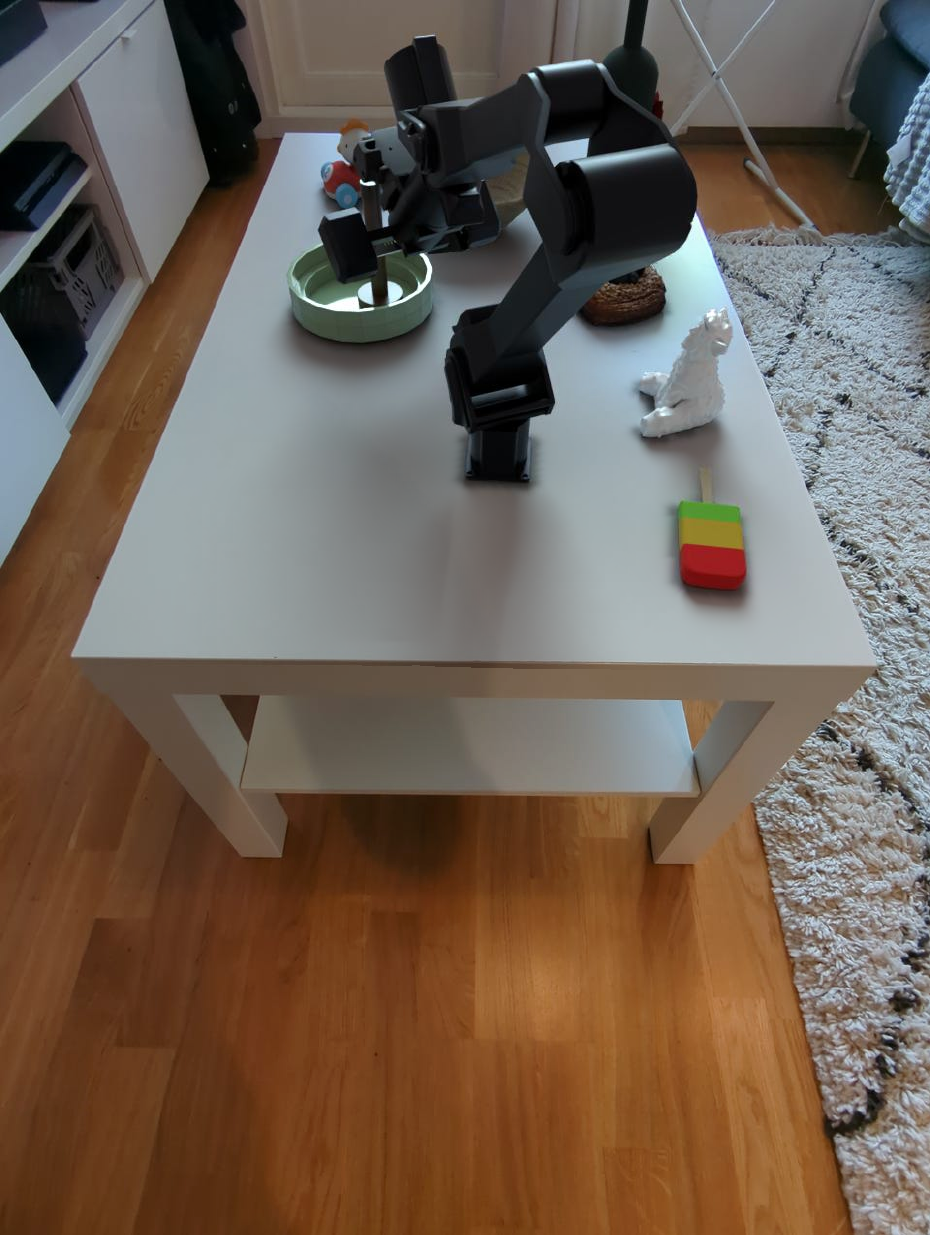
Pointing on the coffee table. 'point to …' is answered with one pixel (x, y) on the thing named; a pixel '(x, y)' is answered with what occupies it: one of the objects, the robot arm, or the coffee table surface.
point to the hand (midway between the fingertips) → (391, 260)
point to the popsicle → (711, 541)
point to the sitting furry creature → (689, 380)
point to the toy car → (345, 166)
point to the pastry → (626, 299)
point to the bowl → (510, 190)
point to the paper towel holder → (379, 287)
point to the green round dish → (336, 304)
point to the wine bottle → (634, 66)
